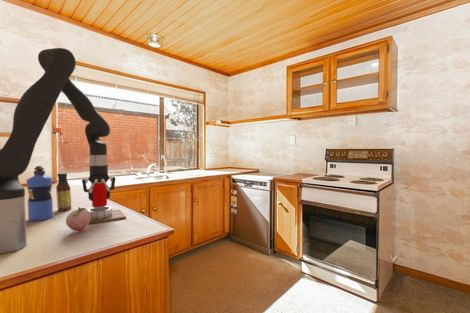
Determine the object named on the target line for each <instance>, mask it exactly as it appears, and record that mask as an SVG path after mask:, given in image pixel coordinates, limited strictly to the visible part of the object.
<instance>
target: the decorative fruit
mask: <svg viewBox="0 0 470 313" xmlns="http://www.w3.org/2000/svg"><path fill="white" fill-rule="evenodd" d="M87 210H88V209H86V208H85V207H80V206H78V209H75V210H72V211H70V213H68V215H67V216H66V218H65V224H66V226H67V228H69V229H70V230H72V231H76V232H83V231H84V230H85V229H87V227H88V226H89V225H88V224H89V223H90V220H91V214H90V212H89V211H87Z"/></svg>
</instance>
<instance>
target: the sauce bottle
mask: <svg viewBox="0 0 470 313" xmlns="http://www.w3.org/2000/svg"><path fill="white" fill-rule="evenodd" d="M67 176H68V174H67V172H63V173H61V172H59V173H57V177H58V180H57V184H56V187H55V189H56V192H55V194H56V203H57V206H56V207H57V211H60V212H63V211H68V210H71V209H72V194H71V193H72V192H71V191H72V190H71V186H70V183H69V182H68V177H67Z"/></svg>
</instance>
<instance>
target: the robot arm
mask: <svg viewBox="0 0 470 313" xmlns="http://www.w3.org/2000/svg"><path fill="white" fill-rule="evenodd" d="M37 60H38V63H39V65H40V67H41V68H42V70H43V71H44V73H43V75H42V76H41V77H40V78H38V80H37V81H35V82H34V83H33V84H32V85H30V86H29V88H27V89H26V90H25V92H24V93H23V94H22V96H21V97H20V99H19V101H18V102H17V104H16V106H15V109H14V112H13V121H12V130H11V133H10V135H9V137H8V138H7V141H5V144H4V146H3V147H1V148H0V255H1V254H5V253H6V254H7V253H11V252H17V251H19V250H20V249H23V248H24V247H26V246H27V220H26V192H25V191H26V190H25V188H24V186H23V185H22V184H21V182H20V181H19V176H21V175H22V174H23V173H24V172H25V171H26V170H27V169H28V167H29V164H30V162H31V159H32V157H33V153H34V149H35V146H36V144H37V142H38V139H39V137H40V135H41V133H42V132H43V129H44V127H45V125H46V124H47V121H48V119H49V118H50V116H51V114H52V111H53V109H54V107H55V105H56V102H57V100H58V98H59V97H60V94H61V92H62V93H63V95H65V96H66V98H67V99H68V100H69V102H70V103H71V105H72V106H73V108H74V110H75V112H76V113H77V114H78V116H79V118H80V119H81V120H82V121H85V122H88V123H87V124H86V126H85V128H84V133H85V136H86V137H85V138H86V140H87V143H88V146H89V160H88V165H89V176H88V178H82V179H81V183H82V188H83V192H84V193H88V199H89V201H91V202H92V190H93V186H94V184H95V183H97V182H102V183H104V184H105V185H106V189H107V200H108V199H110V197H111V191H112V190H113V191H114V190H115V185H116V177H114V176H109V167H108V166H109V165H108V153H107V150H108V149H107V148H108V147H107V143H106V142H103V141H101V140H100V139H101V138H106V137H108V136H109V135H110V133H111V127H110V125H109V123H108V122H107V120H106V119H104V118H103V116H101V114H100V113H98V111H97V110H96V108H95V106H94V104H93V103H92V101H91V99H90V98H89V97H88V96H87V95H86V94H85V93H84V92H83V91H82V90H81V88H79V87H78V86H76V84H75V83H73V82H74V81H72V79H71V78H70V77H71V76H72V75H73V72H74V71H75V69H76V64H77V63H76V62H77V60H76V57H75V55H74V54H73V52H72V51H71V50H69V49H67V48H63V47H54V48H47V49H43V50H41V51H40V52H39V53H38V55H37ZM108 181H110V182H111V183H110V187H109V185H108V184H107V182H108ZM88 182H90V183H91V185H90V187H89V189H88V188H87V184H88Z"/></svg>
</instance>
